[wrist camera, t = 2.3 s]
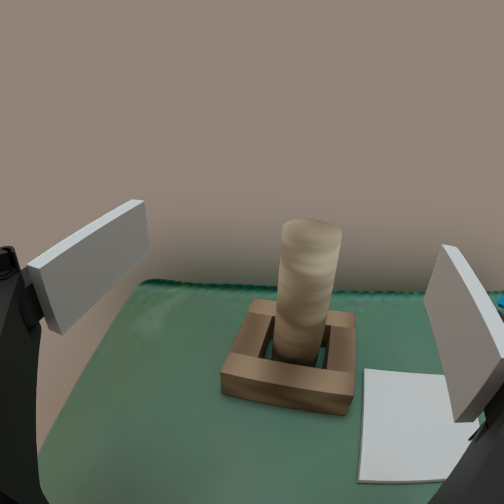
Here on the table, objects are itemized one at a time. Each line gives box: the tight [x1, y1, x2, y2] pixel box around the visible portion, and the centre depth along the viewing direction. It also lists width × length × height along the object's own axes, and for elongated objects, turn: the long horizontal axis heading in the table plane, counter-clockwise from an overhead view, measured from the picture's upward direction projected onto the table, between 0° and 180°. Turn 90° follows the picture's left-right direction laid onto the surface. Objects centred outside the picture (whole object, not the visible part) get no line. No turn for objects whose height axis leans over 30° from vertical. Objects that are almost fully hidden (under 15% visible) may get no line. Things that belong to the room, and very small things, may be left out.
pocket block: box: [220, 298, 356, 416], centre depth 29 cm, size 11×11×3 cm
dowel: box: [271, 219, 342, 368], centre depth 26 cm, size 4×4×14 cm
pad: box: [357, 369, 480, 484], centre depth 21 cm, size 12×12×1 cm
